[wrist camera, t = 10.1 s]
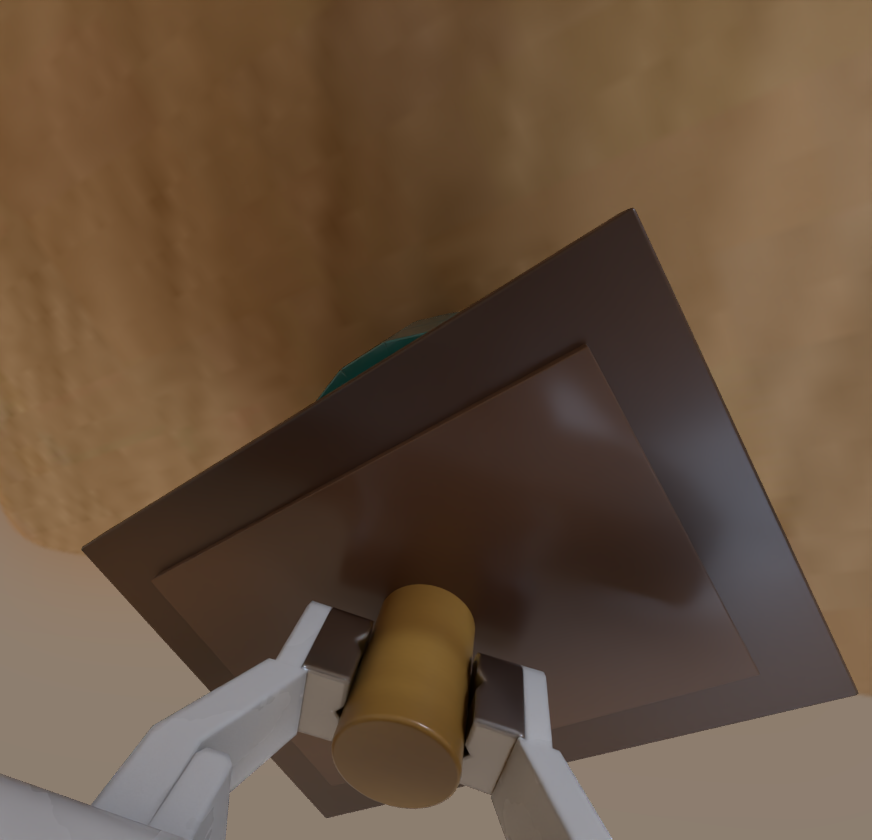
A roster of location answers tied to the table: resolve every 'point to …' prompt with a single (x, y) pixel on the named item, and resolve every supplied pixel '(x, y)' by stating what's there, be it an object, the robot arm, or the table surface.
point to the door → (499, 537)
